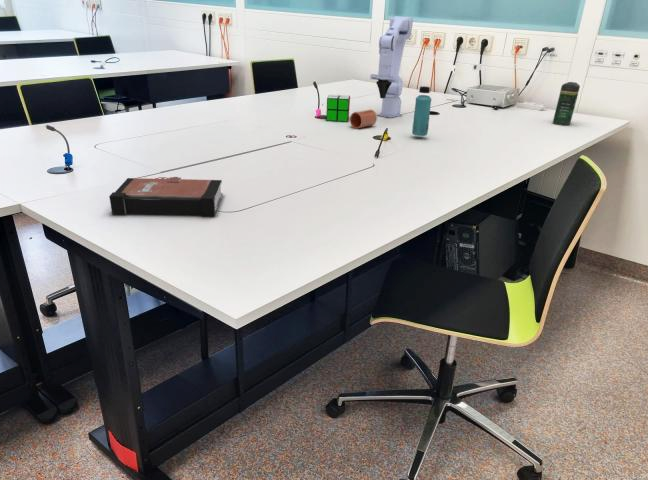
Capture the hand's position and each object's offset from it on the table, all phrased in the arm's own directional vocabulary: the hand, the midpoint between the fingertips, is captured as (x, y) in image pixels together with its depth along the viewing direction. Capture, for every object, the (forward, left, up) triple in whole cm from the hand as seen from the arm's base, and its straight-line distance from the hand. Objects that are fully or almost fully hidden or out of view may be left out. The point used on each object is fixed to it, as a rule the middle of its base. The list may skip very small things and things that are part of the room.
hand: (382, 98), depth 245 cm
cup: (+10, +2, -7) cm, 13 cm away
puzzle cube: (+12, -16, -11) cm, 23 cm away
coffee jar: (-67, +58, -11) cm, 89 cm away
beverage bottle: (+13, +30, -11) cm, 34 cm away
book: (+133, +30, -11) cm, 137 cm away
